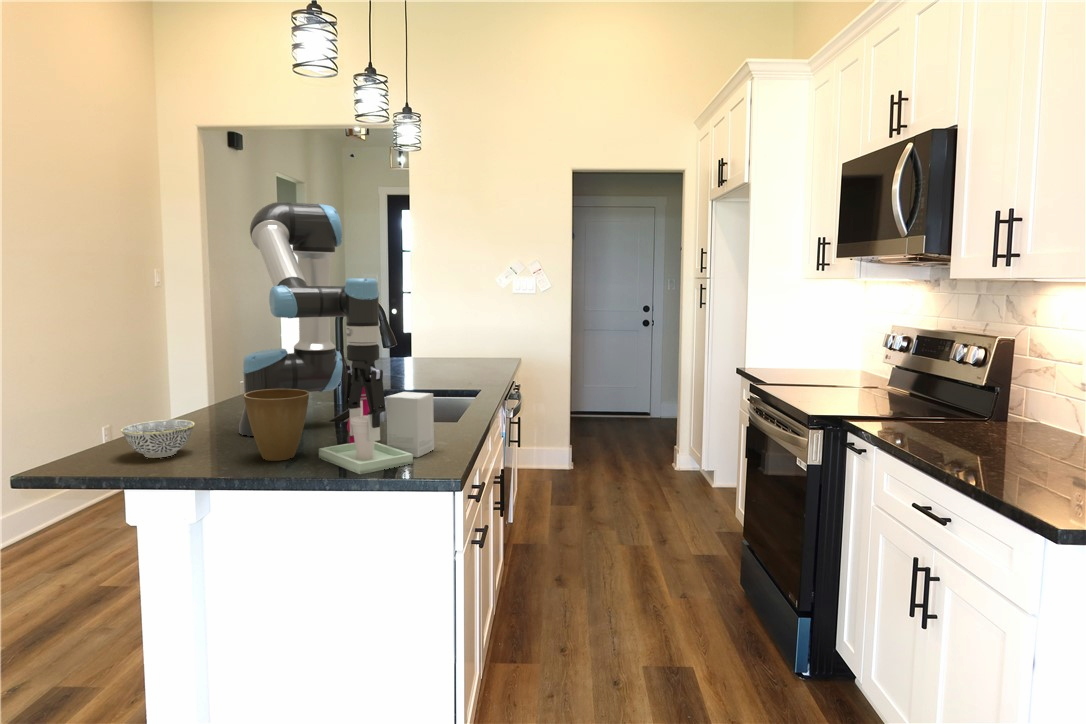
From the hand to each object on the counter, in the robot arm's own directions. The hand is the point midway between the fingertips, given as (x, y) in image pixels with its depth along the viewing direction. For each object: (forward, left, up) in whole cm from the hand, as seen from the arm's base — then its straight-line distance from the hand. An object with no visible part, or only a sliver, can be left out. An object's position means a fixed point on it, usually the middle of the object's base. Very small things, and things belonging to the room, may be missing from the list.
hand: (364, 437), depth 173 cm
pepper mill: (-18, +9, -6) cm, 21 cm away
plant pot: (-17, -14, -6) cm, 23 cm away
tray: (0, 0, -6) cm, 6 cm away
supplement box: (0, +13, -6) cm, 14 cm away
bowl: (-38, -35, -6) cm, 52 cm away
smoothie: (0, 0, -5) cm, 5 cm away
